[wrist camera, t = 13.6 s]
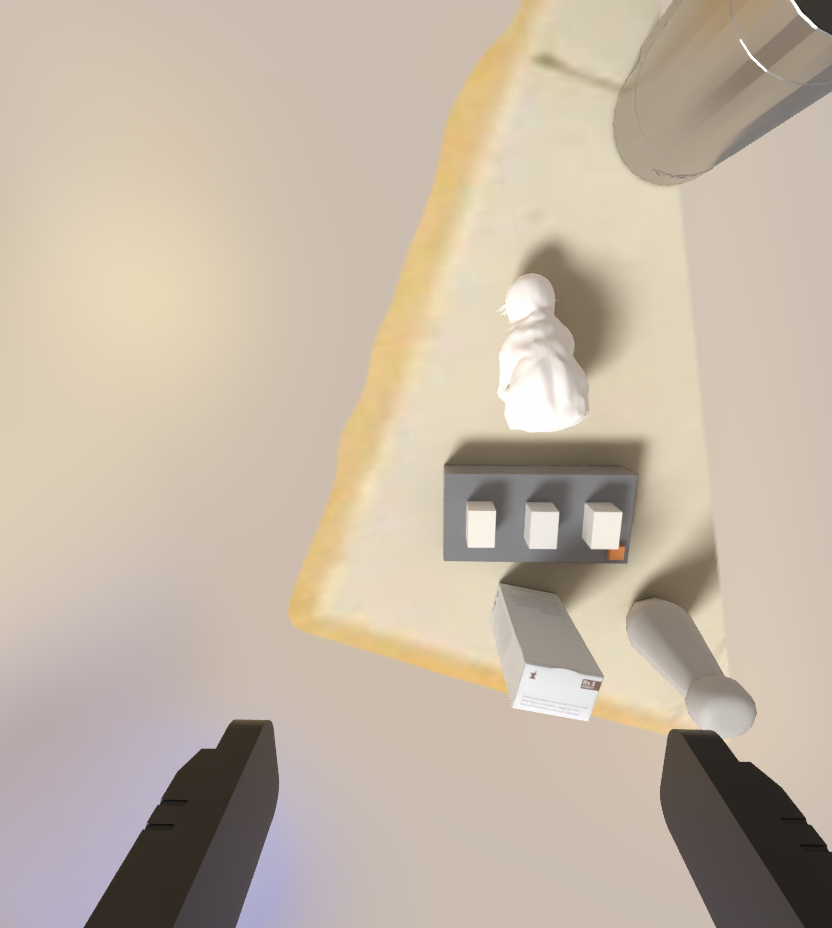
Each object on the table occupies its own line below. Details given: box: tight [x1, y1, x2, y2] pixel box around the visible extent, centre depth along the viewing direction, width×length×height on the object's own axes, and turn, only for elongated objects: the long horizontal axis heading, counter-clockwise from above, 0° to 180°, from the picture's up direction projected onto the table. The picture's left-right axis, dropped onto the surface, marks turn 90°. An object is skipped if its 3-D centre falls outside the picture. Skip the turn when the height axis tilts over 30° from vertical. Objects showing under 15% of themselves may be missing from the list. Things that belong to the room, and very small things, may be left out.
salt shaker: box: [626, 597, 757, 739], centre depth 39 cm, size 6×6×13 cm
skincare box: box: [489, 583, 604, 721], centre depth 39 cm, size 6×4×12 cm
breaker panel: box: [443, 465, 637, 563], centre depth 40 cm, size 8×16×5 cm, turn 90°
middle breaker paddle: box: [524, 502, 559, 549], centre depth 38 cm, size 3×2×2 cm
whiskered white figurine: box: [497, 273, 589, 432], centre depth 35 cm, size 6×8×12 cm
